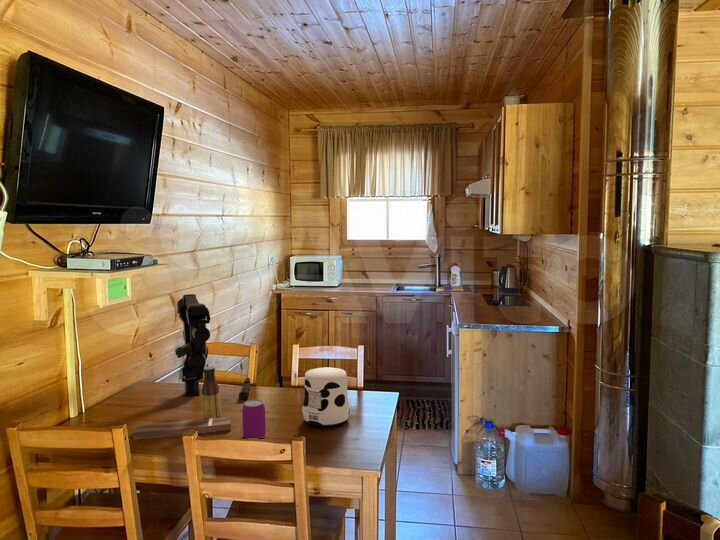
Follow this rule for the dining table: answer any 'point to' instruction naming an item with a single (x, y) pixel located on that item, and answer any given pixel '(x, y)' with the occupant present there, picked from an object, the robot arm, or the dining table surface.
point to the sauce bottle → (210, 394)
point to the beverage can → (254, 419)
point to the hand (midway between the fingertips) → (199, 376)
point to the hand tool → (245, 390)
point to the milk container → (325, 397)
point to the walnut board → (181, 427)
